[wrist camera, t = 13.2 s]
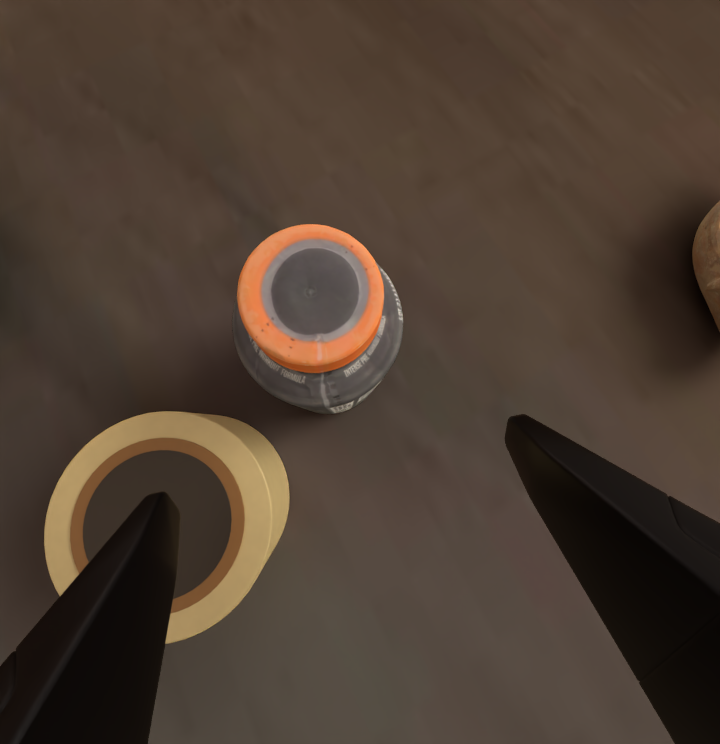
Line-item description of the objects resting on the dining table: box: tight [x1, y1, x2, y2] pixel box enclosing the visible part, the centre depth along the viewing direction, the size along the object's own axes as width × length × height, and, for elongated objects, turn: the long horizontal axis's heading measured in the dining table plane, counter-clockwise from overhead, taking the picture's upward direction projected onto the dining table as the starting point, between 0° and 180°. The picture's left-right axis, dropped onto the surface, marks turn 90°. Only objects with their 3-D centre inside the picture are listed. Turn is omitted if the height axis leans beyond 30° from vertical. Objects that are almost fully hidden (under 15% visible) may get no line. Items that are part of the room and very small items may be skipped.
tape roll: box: [44, 411, 290, 644], centre depth 17 cm, size 9×9×5 cm
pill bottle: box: [232, 224, 403, 414], centre depth 15 cm, size 6×6×11 cm
